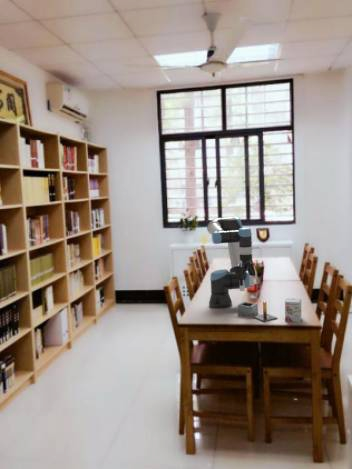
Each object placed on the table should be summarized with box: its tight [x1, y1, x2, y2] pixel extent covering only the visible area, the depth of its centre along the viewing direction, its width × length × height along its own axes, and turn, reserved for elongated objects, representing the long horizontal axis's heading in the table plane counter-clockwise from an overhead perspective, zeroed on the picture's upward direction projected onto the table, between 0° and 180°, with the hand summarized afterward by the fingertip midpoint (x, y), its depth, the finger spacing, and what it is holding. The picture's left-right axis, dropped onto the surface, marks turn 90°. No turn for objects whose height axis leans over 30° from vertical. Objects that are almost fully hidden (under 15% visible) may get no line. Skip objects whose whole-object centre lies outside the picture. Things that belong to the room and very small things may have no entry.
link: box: [237, 301, 259, 318], centre depth 267 cm, size 9×9×6 cm
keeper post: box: [252, 301, 278, 323], centre depth 257 cm, size 10×10×10 cm
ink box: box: [284, 297, 302, 323], centre depth 251 cm, size 9×9×12 cm
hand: (247, 288), depth 266 cm, fingers open, 13 cm apart
